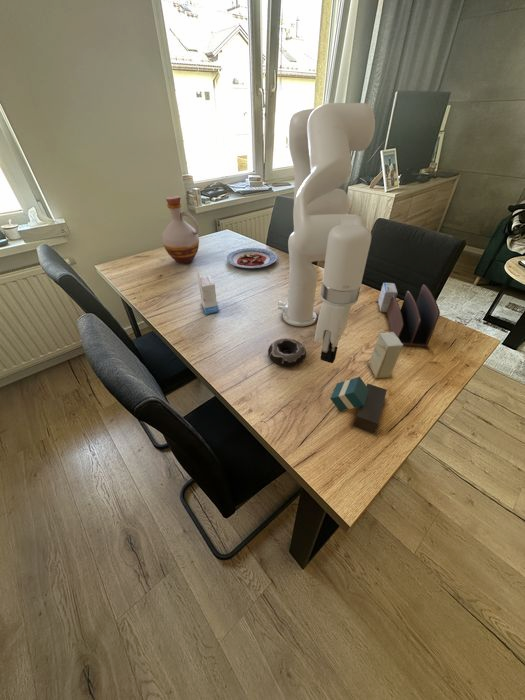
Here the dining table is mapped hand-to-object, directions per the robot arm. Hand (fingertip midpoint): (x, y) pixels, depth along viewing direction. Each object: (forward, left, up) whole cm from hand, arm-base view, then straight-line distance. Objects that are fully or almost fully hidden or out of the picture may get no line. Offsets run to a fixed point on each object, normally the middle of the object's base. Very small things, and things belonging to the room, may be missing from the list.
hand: (327, 359), depth 69 cm
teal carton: (+7, 0, -13) cm, 15 cm away
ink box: (-54, +23, -13) cm, 60 cm away
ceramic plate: (-62, +71, -13) cm, 95 cm away
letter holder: (+16, +43, -13) cm, 48 cm away
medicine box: (+7, +55, -13) cm, 57 cm away
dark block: (+13, 0, -13) cm, 18 cm away
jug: (-93, +56, -13) cm, 109 cm away
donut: (-15, +10, -13) cm, 22 cm away
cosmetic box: (+12, +17, -13) cm, 25 cm away
